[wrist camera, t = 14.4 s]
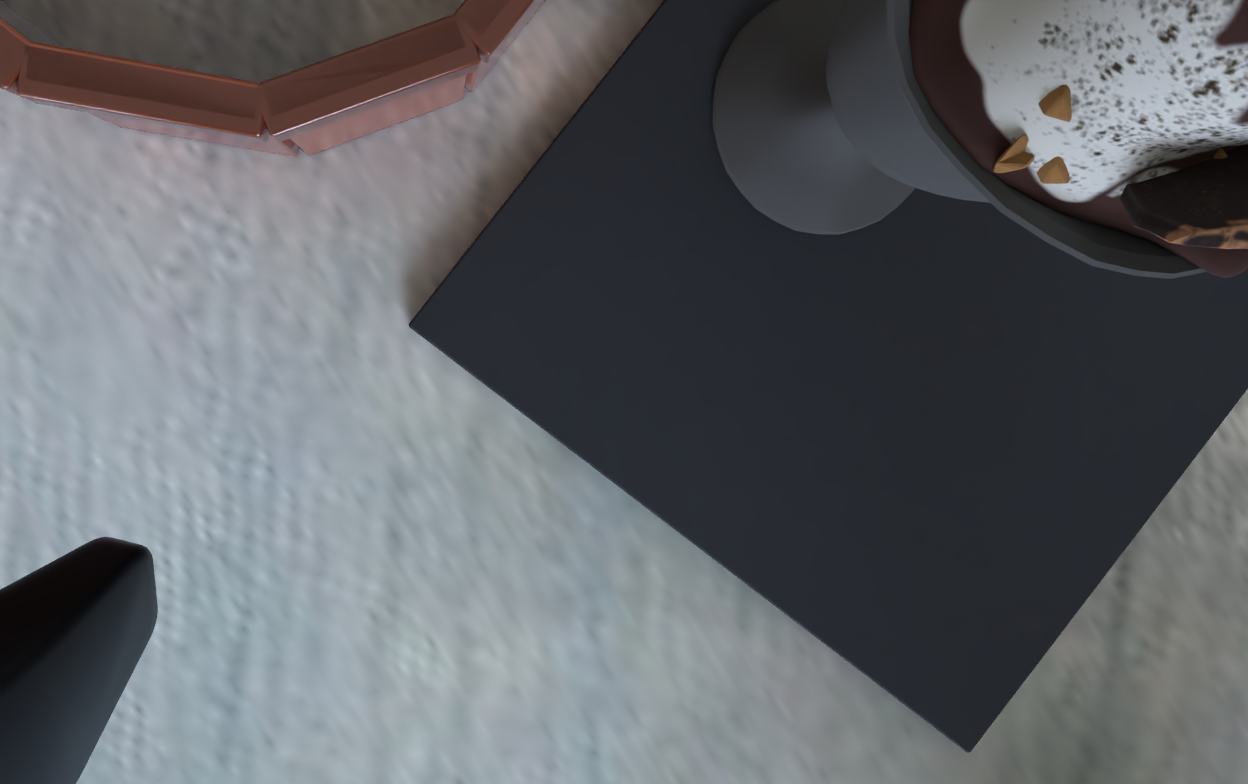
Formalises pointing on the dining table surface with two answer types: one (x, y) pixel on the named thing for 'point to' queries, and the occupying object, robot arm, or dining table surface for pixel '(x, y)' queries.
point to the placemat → (840, 382)
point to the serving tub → (271, 83)
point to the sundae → (1002, 120)
